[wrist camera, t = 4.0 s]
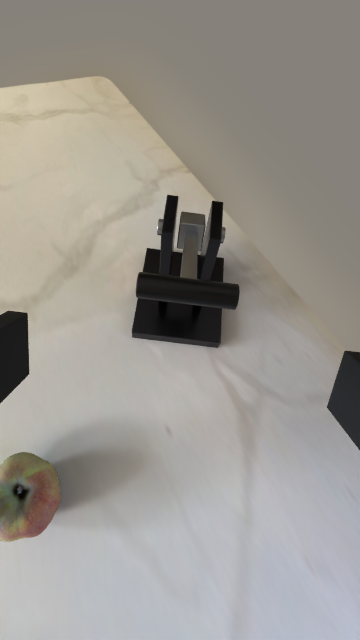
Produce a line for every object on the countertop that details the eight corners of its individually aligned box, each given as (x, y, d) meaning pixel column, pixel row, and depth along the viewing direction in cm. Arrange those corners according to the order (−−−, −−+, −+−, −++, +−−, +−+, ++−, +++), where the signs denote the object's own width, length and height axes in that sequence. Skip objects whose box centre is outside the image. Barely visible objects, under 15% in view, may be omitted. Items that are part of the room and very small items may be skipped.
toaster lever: (233, 319, 21) (242, 288, 19) (135, 307, 20) (136, 275, 19) (223, 241, 30) (228, 217, 29) (156, 233, 30) (157, 207, 29)
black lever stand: (217, 348, 36) (251, 282, 24) (132, 337, 36) (122, 265, 24) (221, 264, 42) (250, 176, 30) (147, 255, 42) (145, 162, 29)
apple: (0, 565, 26) (-38, 588, 21) (-2, 463, 29) (-35, 460, 24) (74, 542, 27) (56, 557, 22) (64, 446, 31) (46, 439, 25)
